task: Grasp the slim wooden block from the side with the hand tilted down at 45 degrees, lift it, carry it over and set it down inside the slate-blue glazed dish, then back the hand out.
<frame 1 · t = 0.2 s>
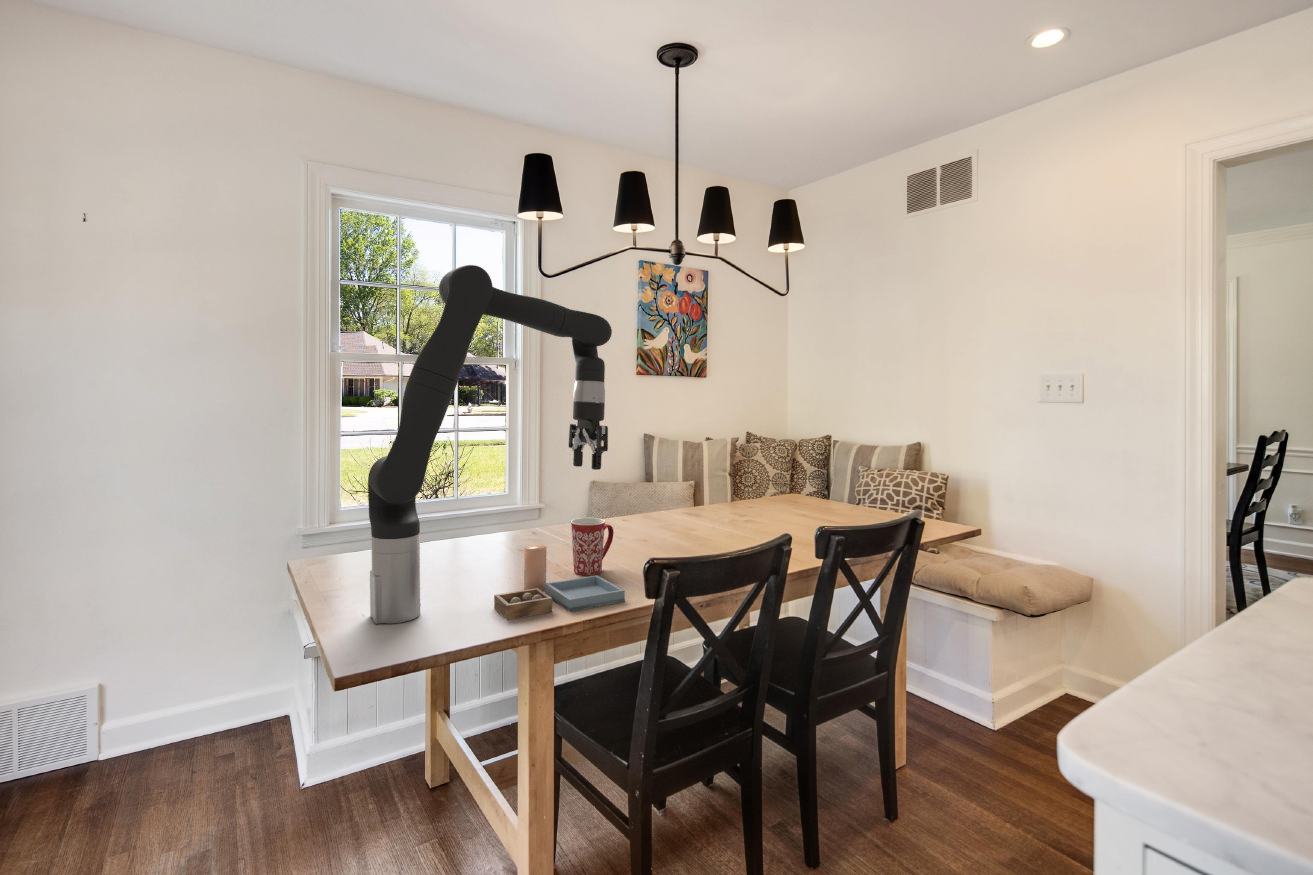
hand: (586, 467, 157), 29 cm above the table, tool pointing down, fingers open, 8 cm apart
dish: (583, 597, 149), on the table
mug: (593, 571, 171), on the table
parts tray: (523, 609, 140), on the table
wooden block: (535, 588, 155), on the table
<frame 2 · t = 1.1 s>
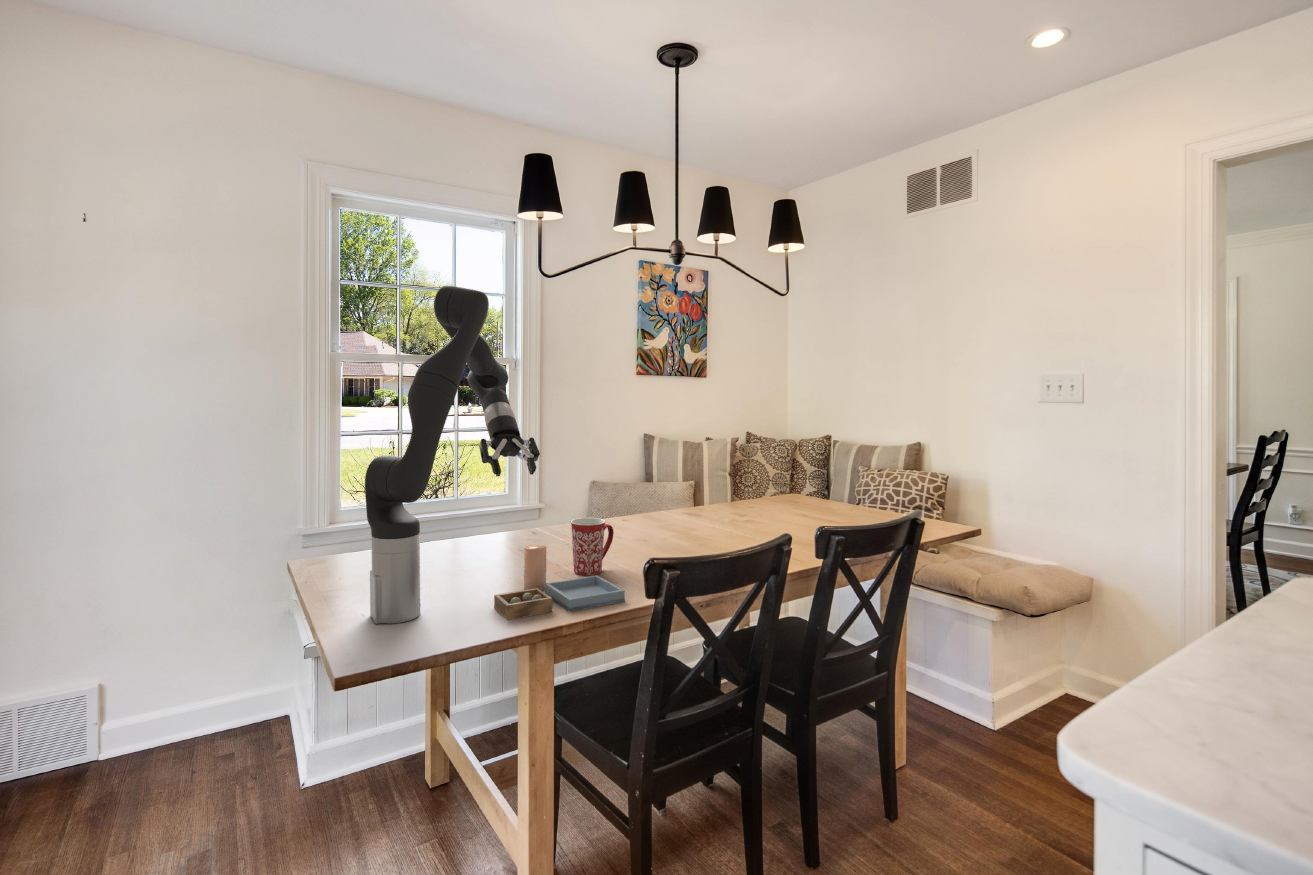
hand: (516, 473, 159), 27 cm above the table, tool tilted 45°, fingers open, 8 cm apart
nothing on the table moved.
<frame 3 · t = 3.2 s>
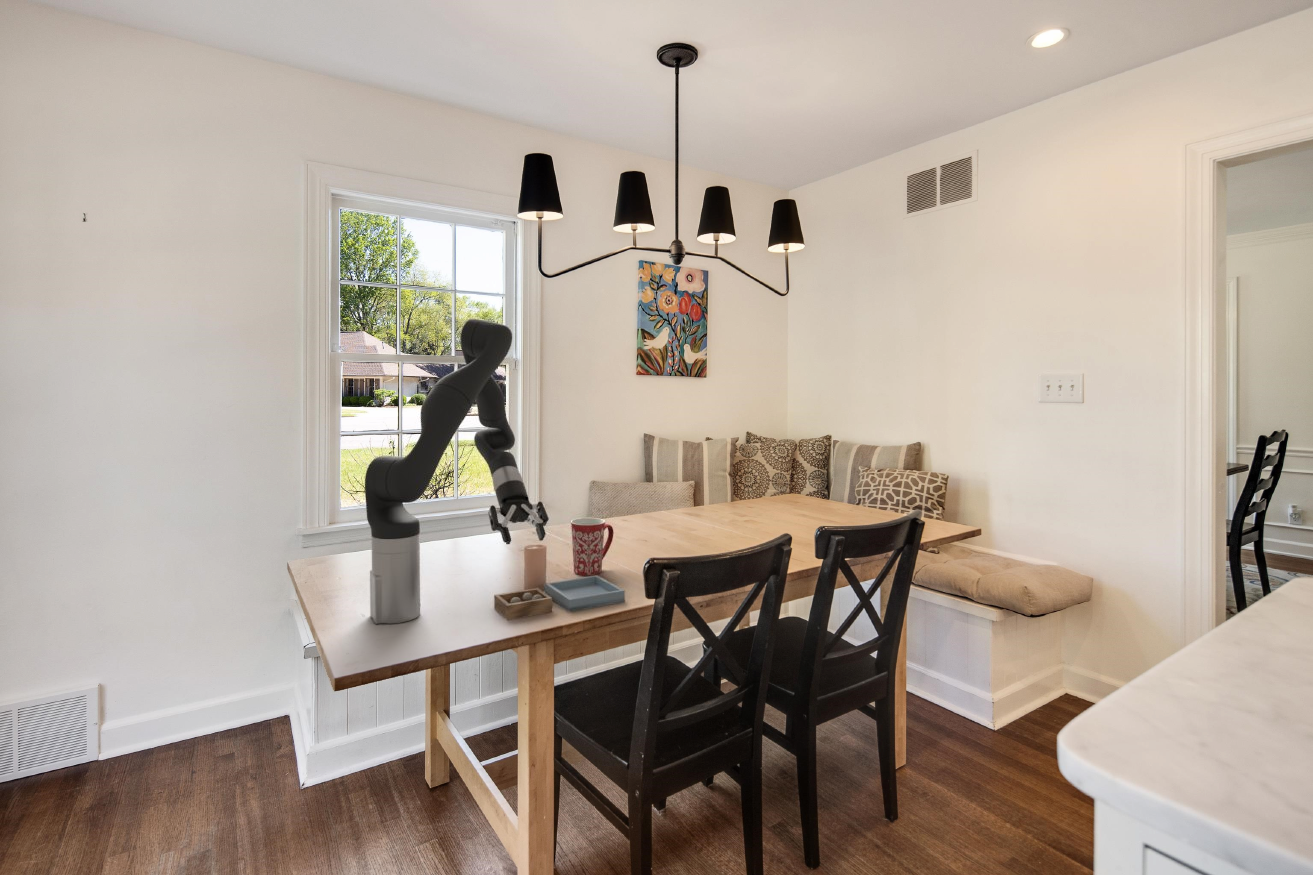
hand: (525, 540, 160), 10 cm above the table, tool tilted 45°, fingers open, 8 cm apart
nothing on the table moved.
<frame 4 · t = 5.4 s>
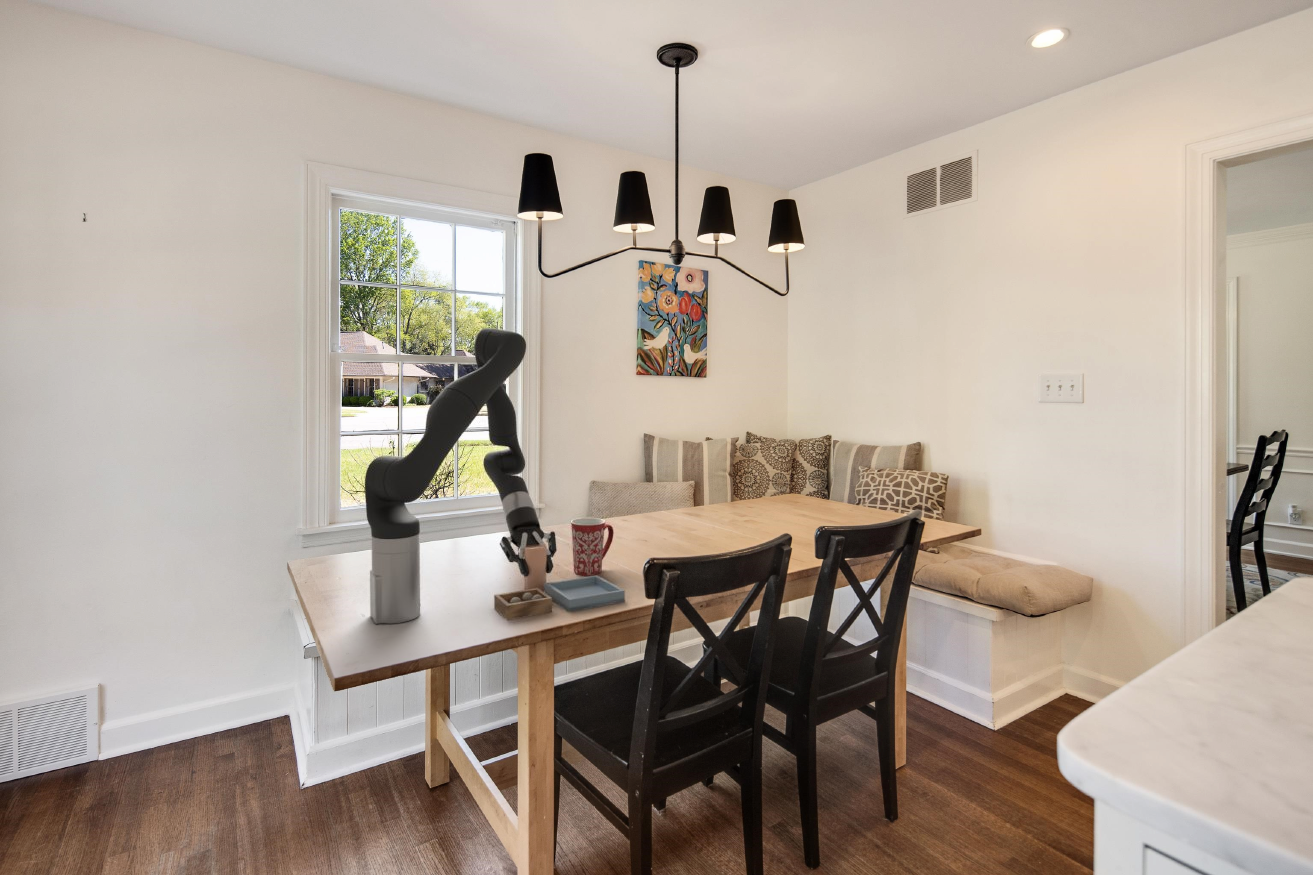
hand: (538, 572, 153), 4 cm above the table, tool tilted 45°, fingers closed on wooden block, 5 cm apart
wooden block: (535, 588, 155), on the table, touching gripper
everything else where it was.
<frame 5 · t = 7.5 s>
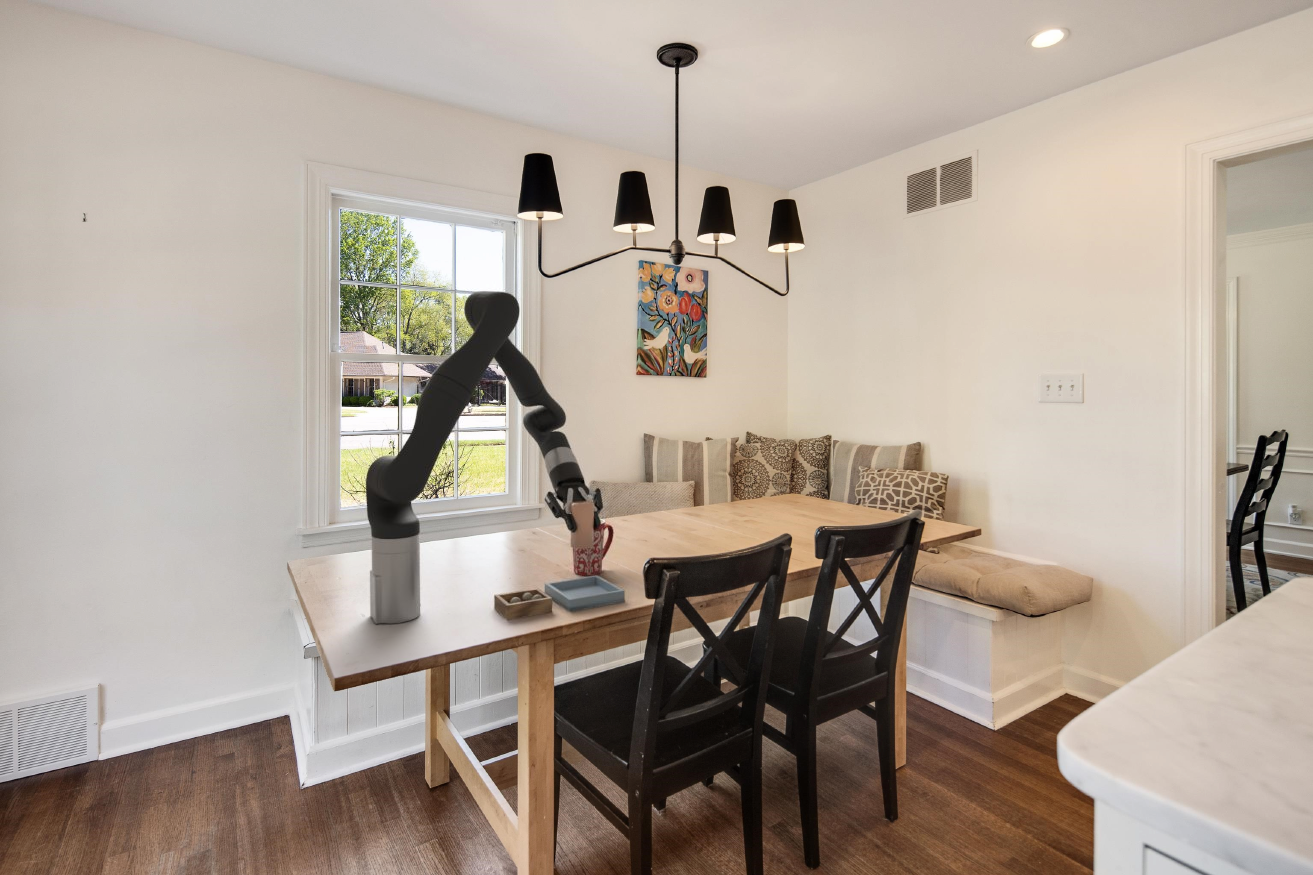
hand: (586, 529, 147), 16 cm above the table, tool tilted 45°, fingers closed on wooden block, 5 cm apart
wooden block: (581, 545, 149), point 12 cm above the table, touching gripper
everything else where it was.
when the fingers open (7 cm above the table, at t = 9.9 s): wooden block drops 2 cm, resting on dish.
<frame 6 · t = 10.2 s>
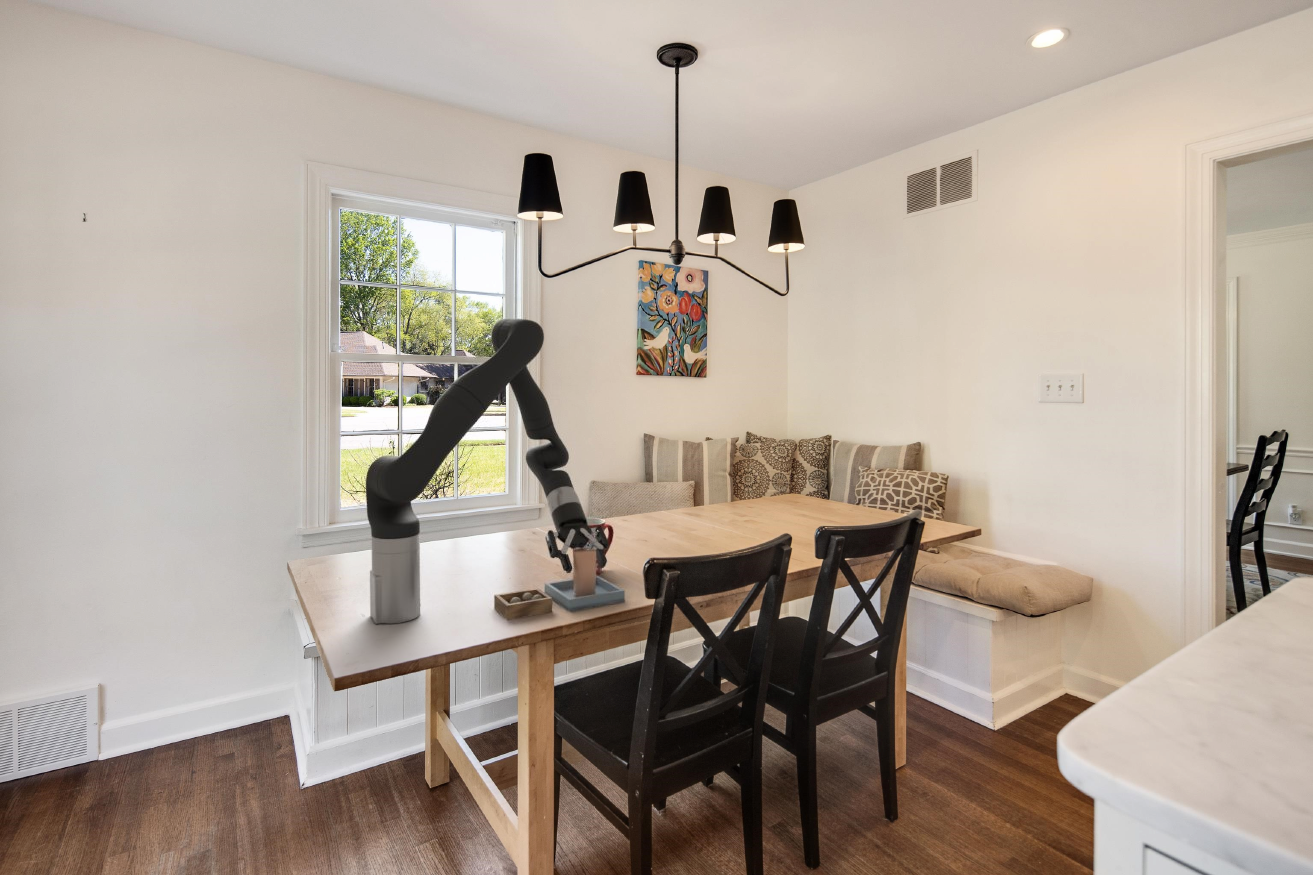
hand: (587, 568, 147), 7 cm above the table, tool tilted 45°, fingers open, 8 cm apart
wooden block: (584, 594, 149), point 1 cm above the table, touching dish
everything else where it was.
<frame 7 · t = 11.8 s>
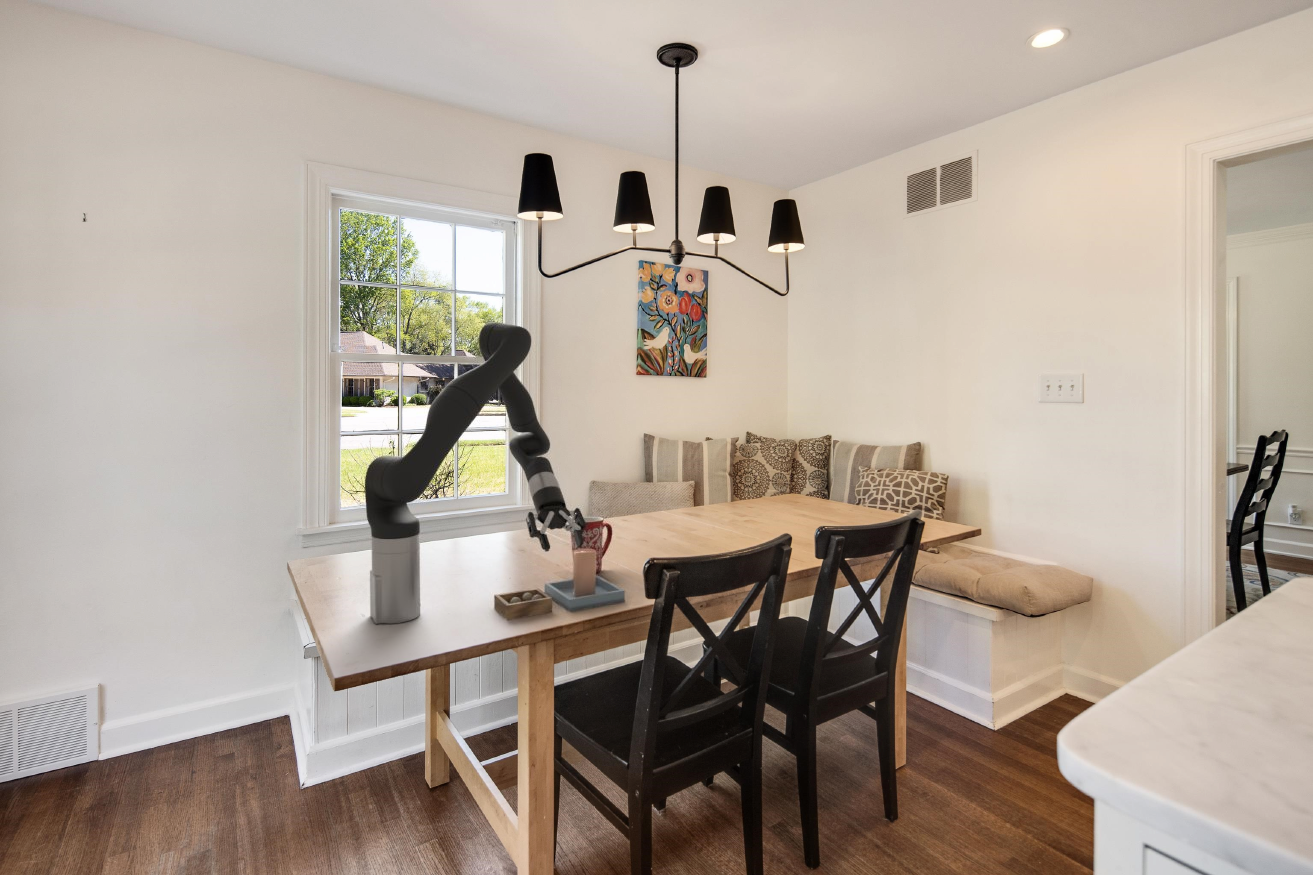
hand: (564, 547, 157), 9 cm above the table, tool tilted 45°, fingers open, 8 cm apart
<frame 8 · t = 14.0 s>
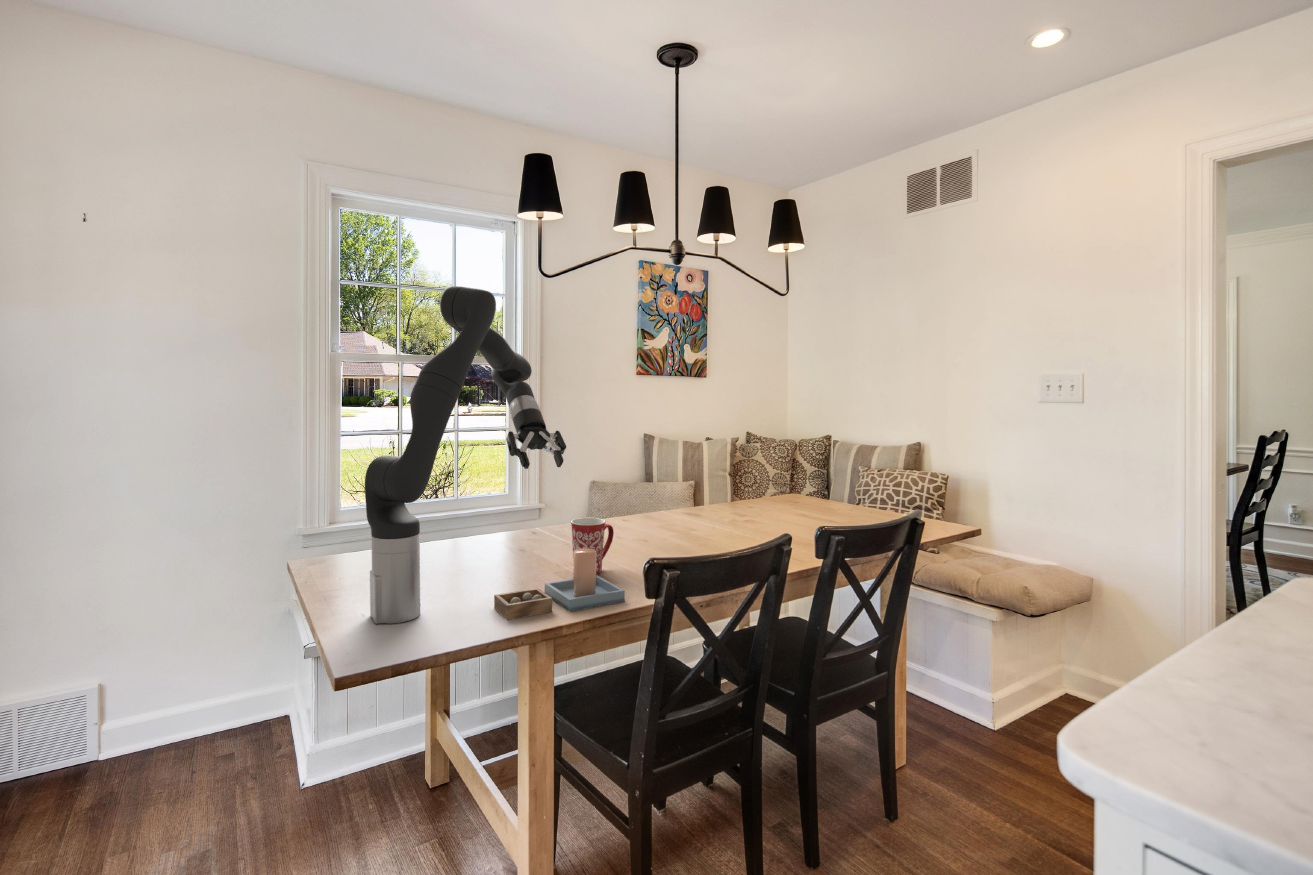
hand: (544, 466, 159), 29 cm above the table, tool tilted 45°, fingers open, 8 cm apart
at the end: wooden block inside the target area on the dish (0.1 cm from its centre), point 0.8 cm above the dish's base; wooden block tilted 0°; the gripper is holding nothing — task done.
